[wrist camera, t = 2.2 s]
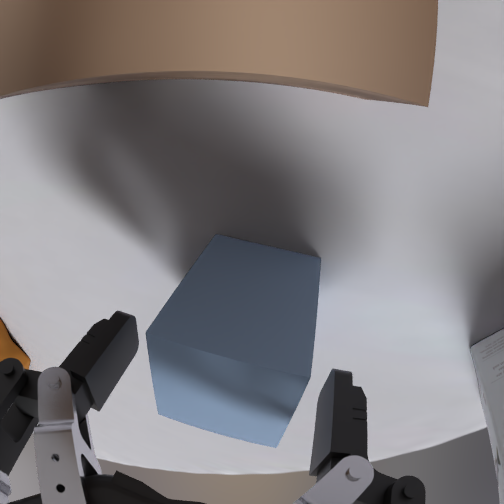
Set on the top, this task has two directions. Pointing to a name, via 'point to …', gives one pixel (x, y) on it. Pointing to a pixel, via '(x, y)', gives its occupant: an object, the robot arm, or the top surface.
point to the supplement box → (492, 395)
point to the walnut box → (223, 44)
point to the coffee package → (11, 348)
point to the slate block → (237, 340)
